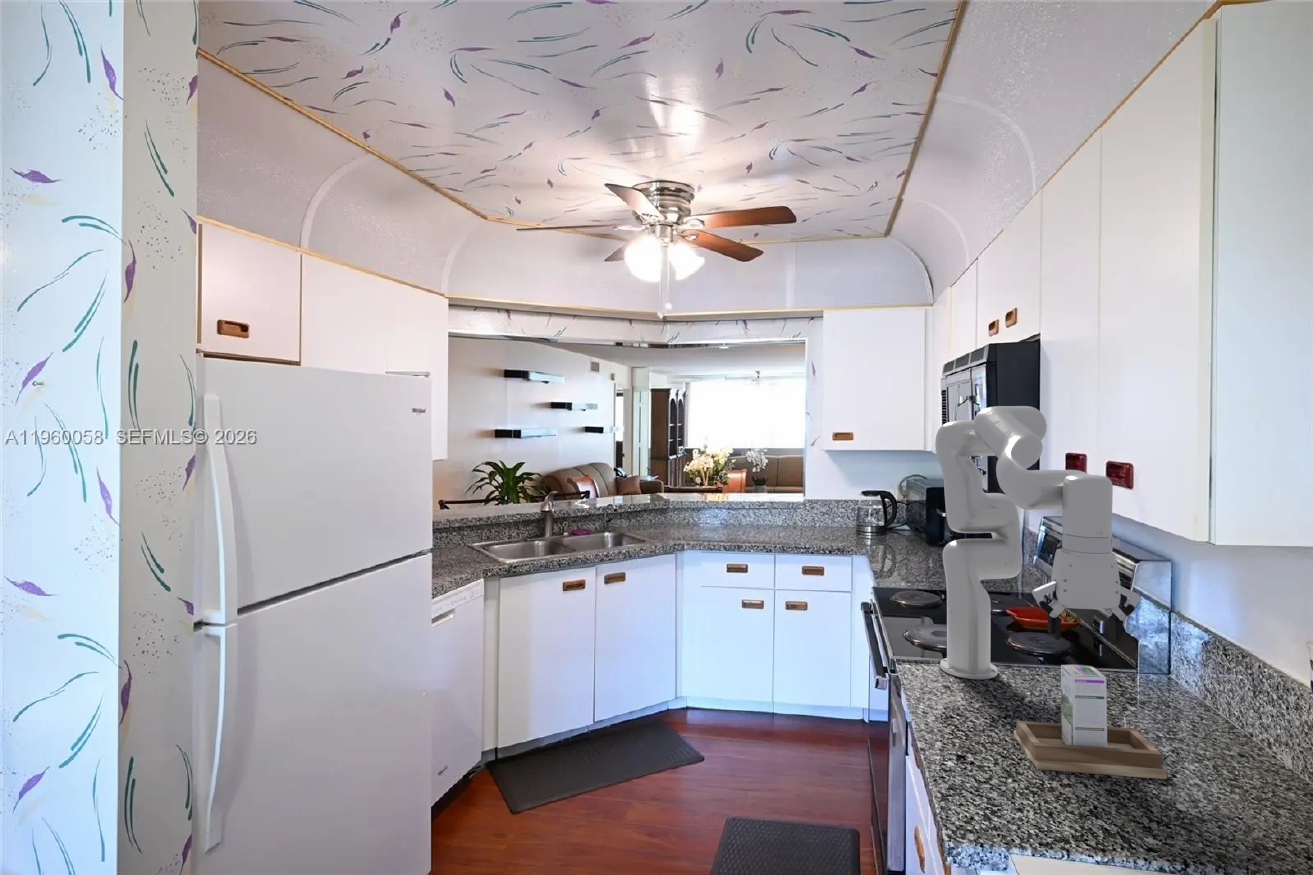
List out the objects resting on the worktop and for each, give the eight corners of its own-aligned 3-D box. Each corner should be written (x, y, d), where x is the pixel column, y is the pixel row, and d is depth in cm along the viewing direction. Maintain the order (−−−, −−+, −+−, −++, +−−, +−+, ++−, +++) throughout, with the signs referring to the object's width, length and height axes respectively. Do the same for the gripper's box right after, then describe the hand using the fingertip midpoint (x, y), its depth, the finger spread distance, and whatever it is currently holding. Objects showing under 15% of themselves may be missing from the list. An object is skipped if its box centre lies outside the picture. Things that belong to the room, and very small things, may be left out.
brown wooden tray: (1013, 735, 133) (1013, 717, 133) (1129, 743, 129) (1129, 724, 129) (1037, 769, 120) (1037, 749, 120) (1166, 779, 116) (1167, 758, 116)
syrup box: (1108, 758, 122) (1109, 676, 121) (1071, 756, 123) (1072, 674, 122) (1094, 743, 127) (1094, 665, 127) (1059, 741, 128) (1059, 663, 128)
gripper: (1130, 541, 126) (1128, 634, 127) (1026, 539, 129) (1025, 629, 130) (1151, 550, 118) (1148, 649, 119) (1040, 547, 122) (1039, 643, 122)
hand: (1084, 638), depth 125 cm, fingers open, 9 cm apart
